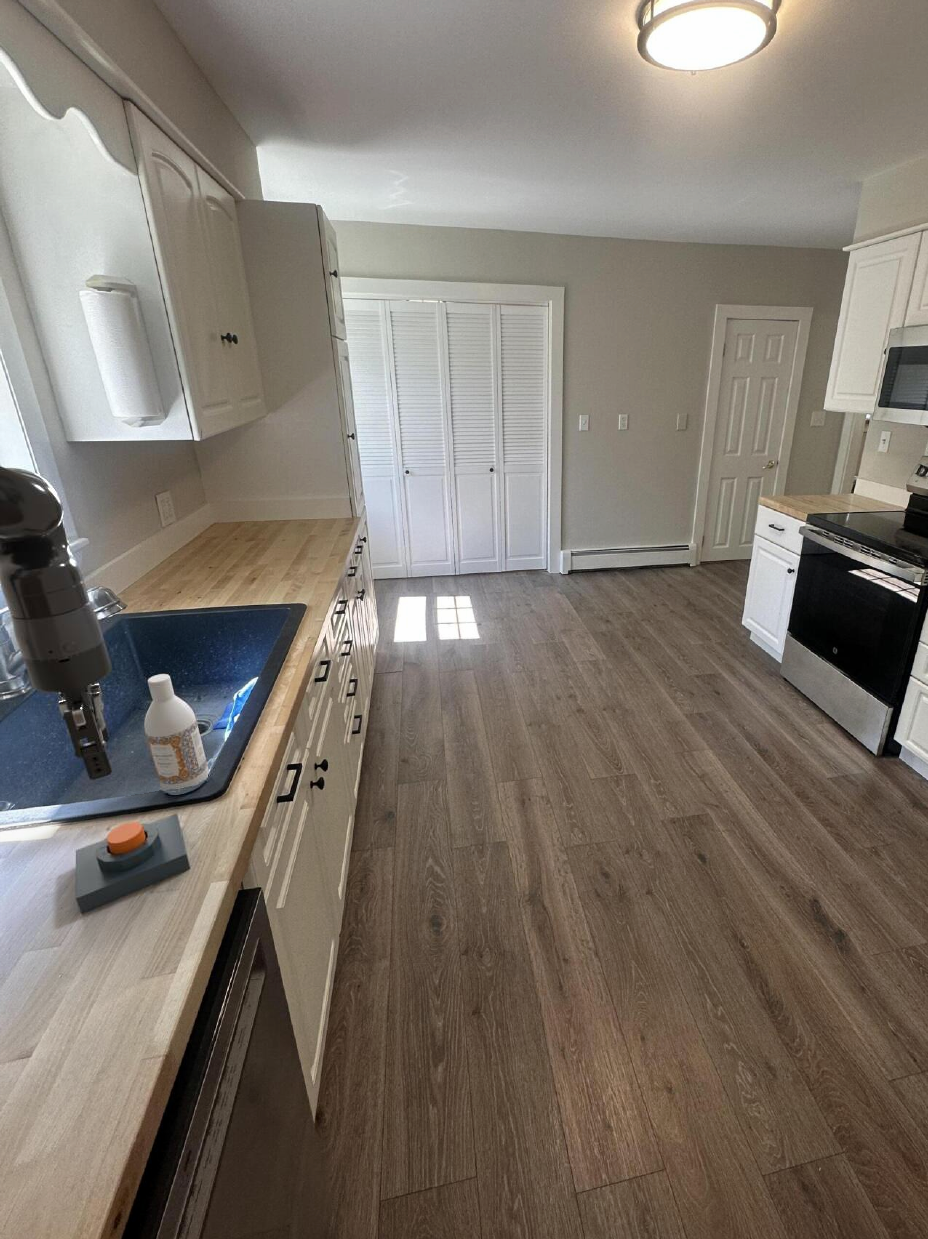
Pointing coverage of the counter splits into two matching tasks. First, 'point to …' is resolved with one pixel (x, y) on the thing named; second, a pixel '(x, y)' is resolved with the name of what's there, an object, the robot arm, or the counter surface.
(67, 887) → the counter surface
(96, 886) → the button base
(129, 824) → the button
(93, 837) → the counter surface
